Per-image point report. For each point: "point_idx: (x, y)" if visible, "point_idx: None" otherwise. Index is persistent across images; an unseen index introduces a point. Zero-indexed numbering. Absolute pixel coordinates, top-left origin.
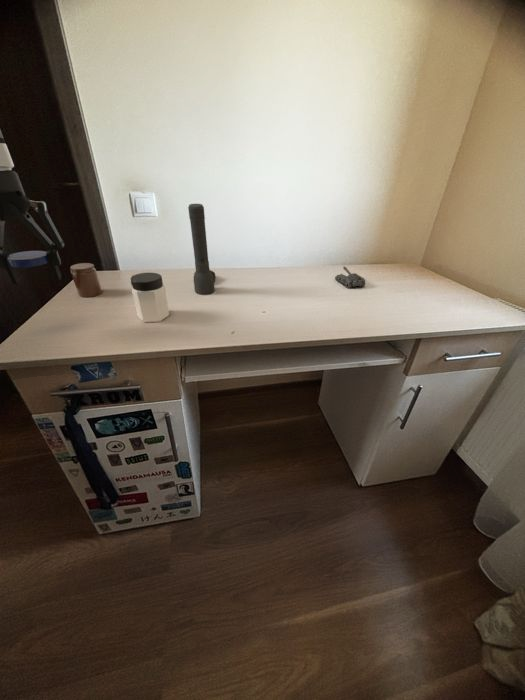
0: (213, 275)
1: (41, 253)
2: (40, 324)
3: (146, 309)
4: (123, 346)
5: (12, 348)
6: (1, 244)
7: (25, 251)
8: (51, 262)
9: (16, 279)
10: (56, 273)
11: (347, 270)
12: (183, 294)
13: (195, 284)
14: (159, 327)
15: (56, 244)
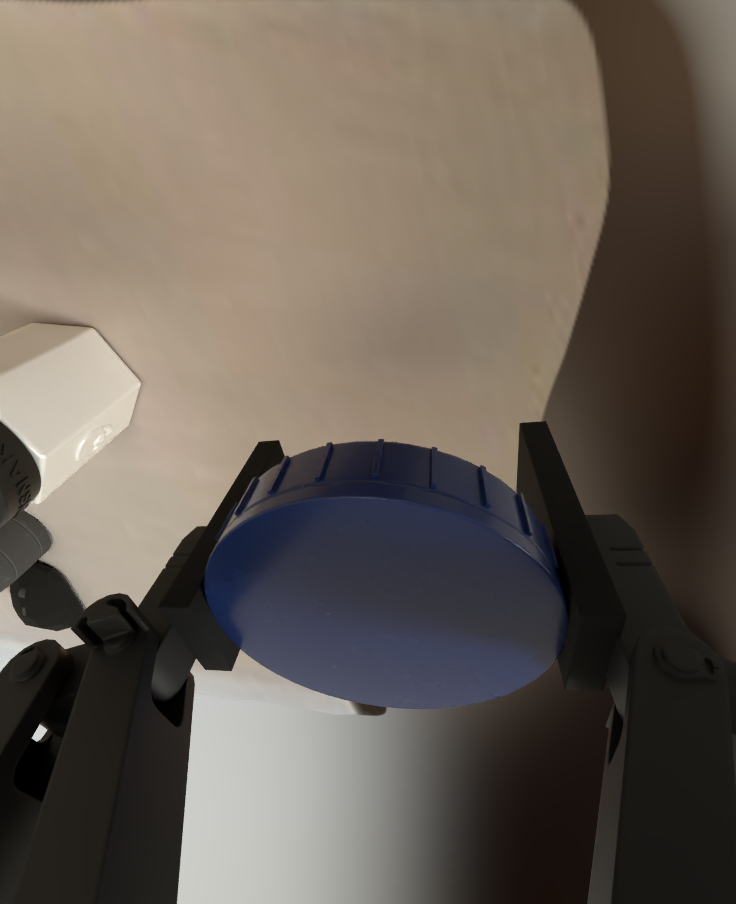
0: (12, 598)
1: (281, 642)
2: (500, 390)
3: (25, 346)
4: (57, 84)
5: (577, 161)
6: (609, 789)
7: (445, 706)
8: (211, 534)
9: (523, 459)
10: (245, 473)
11: None
12: (75, 519)
13: (8, 542)
14: (8, 269)
15: (24, 692)
